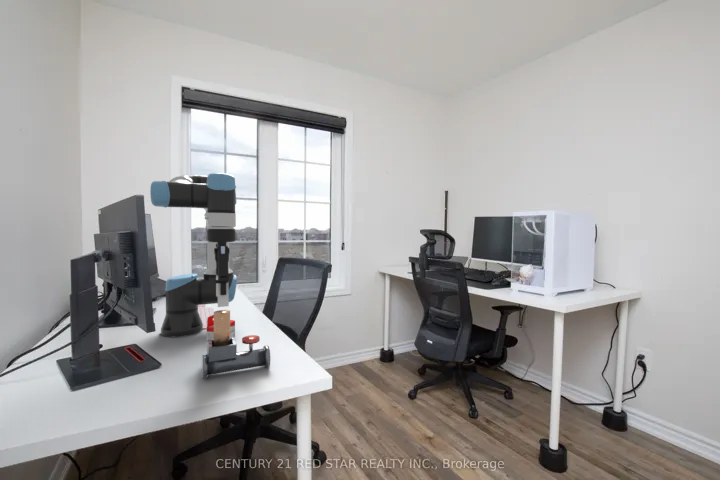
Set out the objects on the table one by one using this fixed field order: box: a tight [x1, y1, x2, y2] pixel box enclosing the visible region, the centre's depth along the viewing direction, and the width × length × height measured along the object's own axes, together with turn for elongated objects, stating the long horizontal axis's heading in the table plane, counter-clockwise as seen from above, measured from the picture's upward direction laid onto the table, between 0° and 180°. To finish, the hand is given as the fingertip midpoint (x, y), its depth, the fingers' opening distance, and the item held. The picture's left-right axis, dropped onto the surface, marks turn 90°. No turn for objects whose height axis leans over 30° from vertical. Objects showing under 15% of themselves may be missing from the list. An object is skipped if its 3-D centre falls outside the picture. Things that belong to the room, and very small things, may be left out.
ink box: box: [206, 314, 236, 357], centre depth 105 cm, size 8×5×15 cm, turn 168°
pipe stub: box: [213, 309, 231, 347], centre depth 93 cm, size 4×4×12 cm
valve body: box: [202, 334, 271, 380], centre depth 95 cm, size 18×7×10 cm, turn 116°
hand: (221, 300), depth 93 cm, fingers open, 13 cm apart
